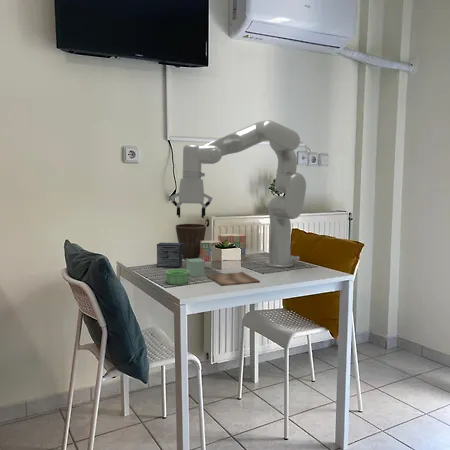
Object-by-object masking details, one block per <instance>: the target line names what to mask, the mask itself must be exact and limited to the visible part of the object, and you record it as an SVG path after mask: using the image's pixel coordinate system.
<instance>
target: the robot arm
mask: <svg viewBox="0 0 450 450" xmlns="http://www.w3.org/2000/svg"><path fill="white" fill-rule="evenodd" d="M263 142H268V143H269V146H270V148H271V149H272V150H273V151H274V153H275V155H276V157H277V169H276V176H275V181H274V187H275V188H274V189H275V190H276V191H277V192H279V193H282V194H285V196H284V195H278V196H274V197H273V198H271V200H270V201H269V203H268V215H269V216H268V217H269V260H266V261H265V265H266V266H268V267H271V268H279V269H280V268H283V269H284V268H291V267H293V266H294V261H300V256H299V255H291V239H292V233H291V232H292V224H291V220H294V219H298V218H299V216H301V214H302V211H303V209H304V204H305V196H306V189H307V181H306V178H305V177H304V174H301V173H299V172H297V167H298V158H297V154H296V153H295V150H297V148H299V146H300V143H301V138H300V135H299V133H298V132H297V131H295V130H293V129H291V128H289V127H286V126H285V125H282V124H281V123H279V122H276V121H273V120H262V121H258V122H254V123H252V124H250V125H248V126H246V127H243V128H240V129H239V130H236V131H234V132H232V133H229V134H227V135H225V136H222V137H219V138H217V139H215V140H212V141H210V142H208V143H206V144H203V145H199V144H186V145H184V146H183V149H182V150H183V151H182V178H180V179H179V180H180V181H179V186H178V187H179V189H178V192H177V193H175V194H172V195H171V196H170V197H169V199H170V200H171V203H172V204H173V205H174V206H175V207H176V216H177V218H178V219H179V218H181V205H182V204H196V205H198V204H200V205H201V206H202V208H201V216H200V217H201V218H202V219H204V218H205V216H206V208H207V207H208V206H209V205H211V202H212V200H213V197H211V196H210V195H209V194H206V193H205V191H204V189H205V188H204V187H205V186H204V179H202V177H205V175H206V174H205V172H202V164H203V165H206V164H207V165H214V164H216V163H219V162H220V161H221V159H222V157H223V156H224V157H225V156H227V155H231V154H232V155H233V154H236V153H237V154H238V153H240V152H244V151H245V150H248V149H250V148H251V147H254V146H256V145H258V144H260V143H263ZM177 197H178V202H177V201H176V200H175V198H177ZM205 198H206V199H208V200H207V201H206V203H204V200H205Z"/></svg>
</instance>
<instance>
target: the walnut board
mask: <svg viewBox="0 0 450 450" xmlns="http://www.w3.org/2000/svg"><path fill="white" fill-rule="evenodd" d="M206 277H207V278H208V279H210V280H212V281H214V282H215V283H216V284H218V285H220V286H221V287H222V286H234V285H236V286H237V285H245V284H246V285H247V284H256V283H260V282H261V281H260V280H258V279H257V278H255V277H253V276H251V275H250V274H248V273H245V272H243V271H240V272H227V273H217V274H207V275H206Z"/></svg>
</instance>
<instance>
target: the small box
mask: <svg viewBox="0 0 450 450" xmlns="http://www.w3.org/2000/svg"><path fill="white" fill-rule="evenodd" d="M182 266H183V255H182V243H179V242H158V243H157V244H156V268H160V267H165V268H166V269H168V268H169V269H181V267H182ZM165 268H164V269H165Z"/></svg>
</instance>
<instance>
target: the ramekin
mask: <svg viewBox="0 0 450 450" xmlns="http://www.w3.org/2000/svg"><path fill="white" fill-rule="evenodd" d="M188 274H189V271H188V270H186V268H185V269H183V268H170V269H167V270H165V278H166V283H167V284H168V285H172V284H173V285H175V286H176V285H177V286H179V285H185V284H187V283H188V281H189V275H188Z"/></svg>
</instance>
